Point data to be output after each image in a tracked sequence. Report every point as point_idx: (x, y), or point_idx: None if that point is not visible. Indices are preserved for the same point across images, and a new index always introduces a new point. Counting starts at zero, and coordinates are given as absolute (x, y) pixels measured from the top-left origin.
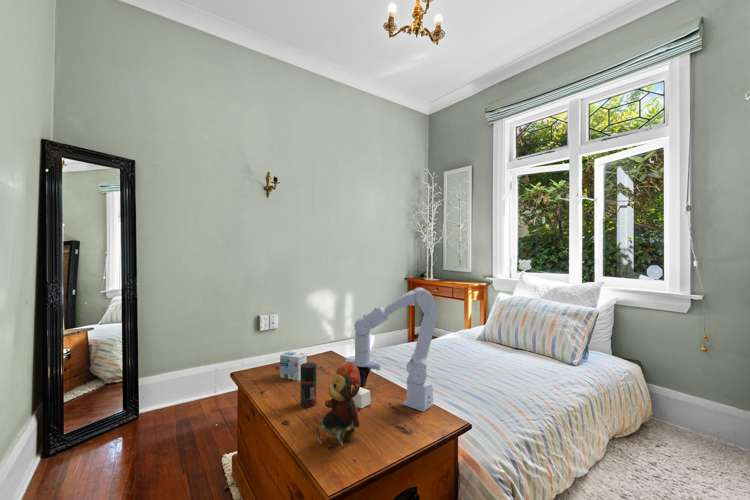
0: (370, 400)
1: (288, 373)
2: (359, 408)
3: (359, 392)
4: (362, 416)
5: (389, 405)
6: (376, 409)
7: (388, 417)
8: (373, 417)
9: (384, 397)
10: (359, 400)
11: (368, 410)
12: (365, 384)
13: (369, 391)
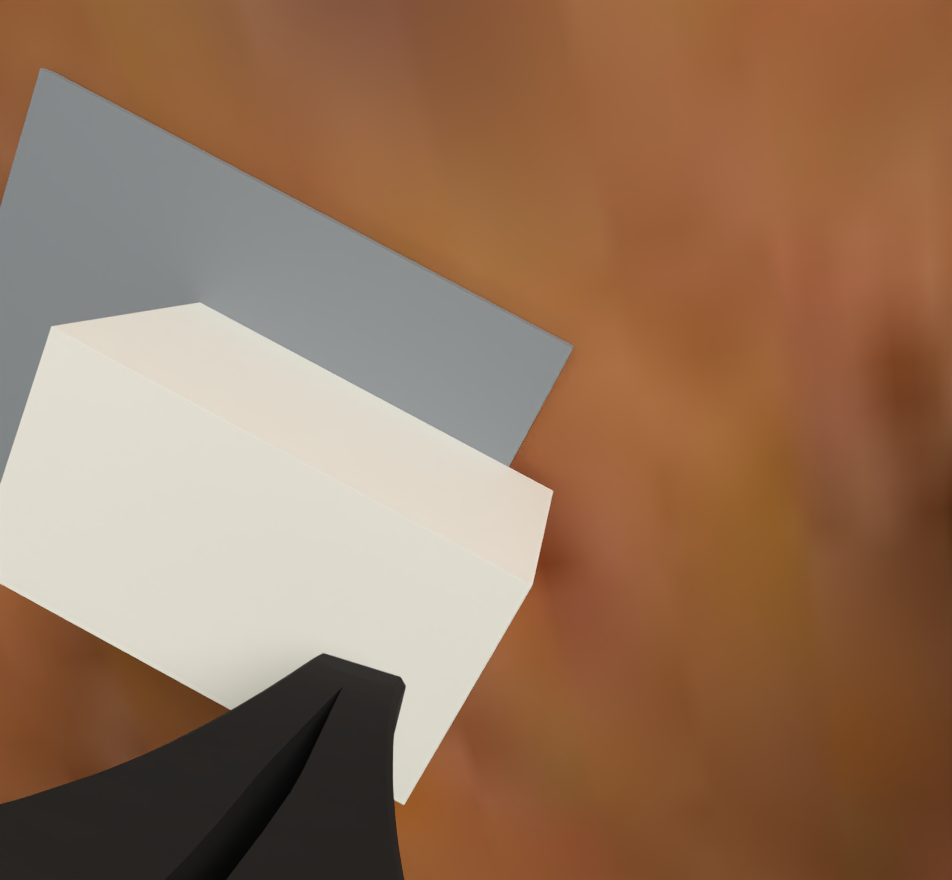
0: (528, 366)
1: None
2: None
3: None
4: (525, 832)
5: (900, 452)
6: (687, 621)
7: (910, 832)
8: (683, 847)
9: (767, 124)
10: None
11: (568, 666)
12: (398, 712)
13: (522, 597)
